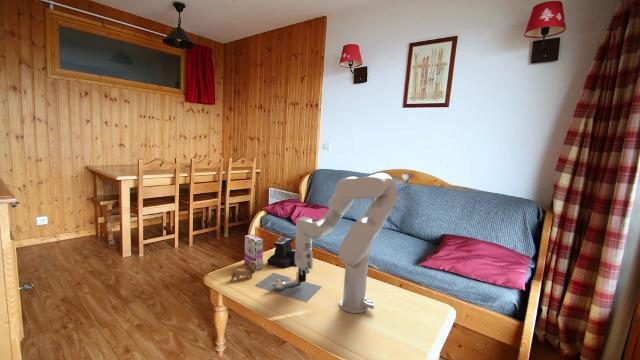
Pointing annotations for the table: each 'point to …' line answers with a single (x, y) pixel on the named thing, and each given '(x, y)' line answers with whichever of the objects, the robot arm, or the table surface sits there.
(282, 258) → the camera
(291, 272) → the table surface
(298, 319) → the table surface
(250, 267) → the lion figurine
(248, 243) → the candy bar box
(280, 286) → the crank handle
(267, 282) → the base plate
